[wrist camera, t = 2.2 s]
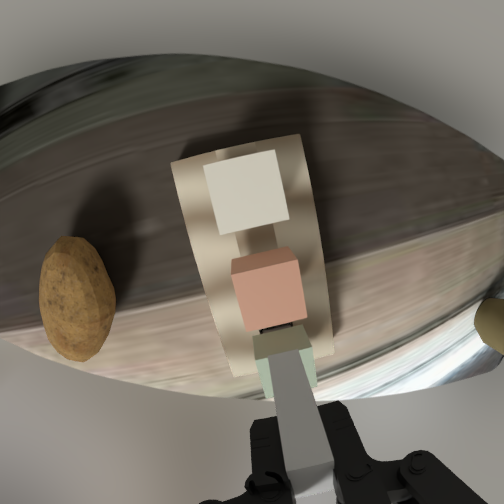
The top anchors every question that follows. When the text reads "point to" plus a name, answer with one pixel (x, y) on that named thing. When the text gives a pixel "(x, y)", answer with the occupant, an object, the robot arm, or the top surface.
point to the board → (256, 247)
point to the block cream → (246, 192)
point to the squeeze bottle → (491, 323)
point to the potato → (76, 298)
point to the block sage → (278, 343)
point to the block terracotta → (268, 288)
